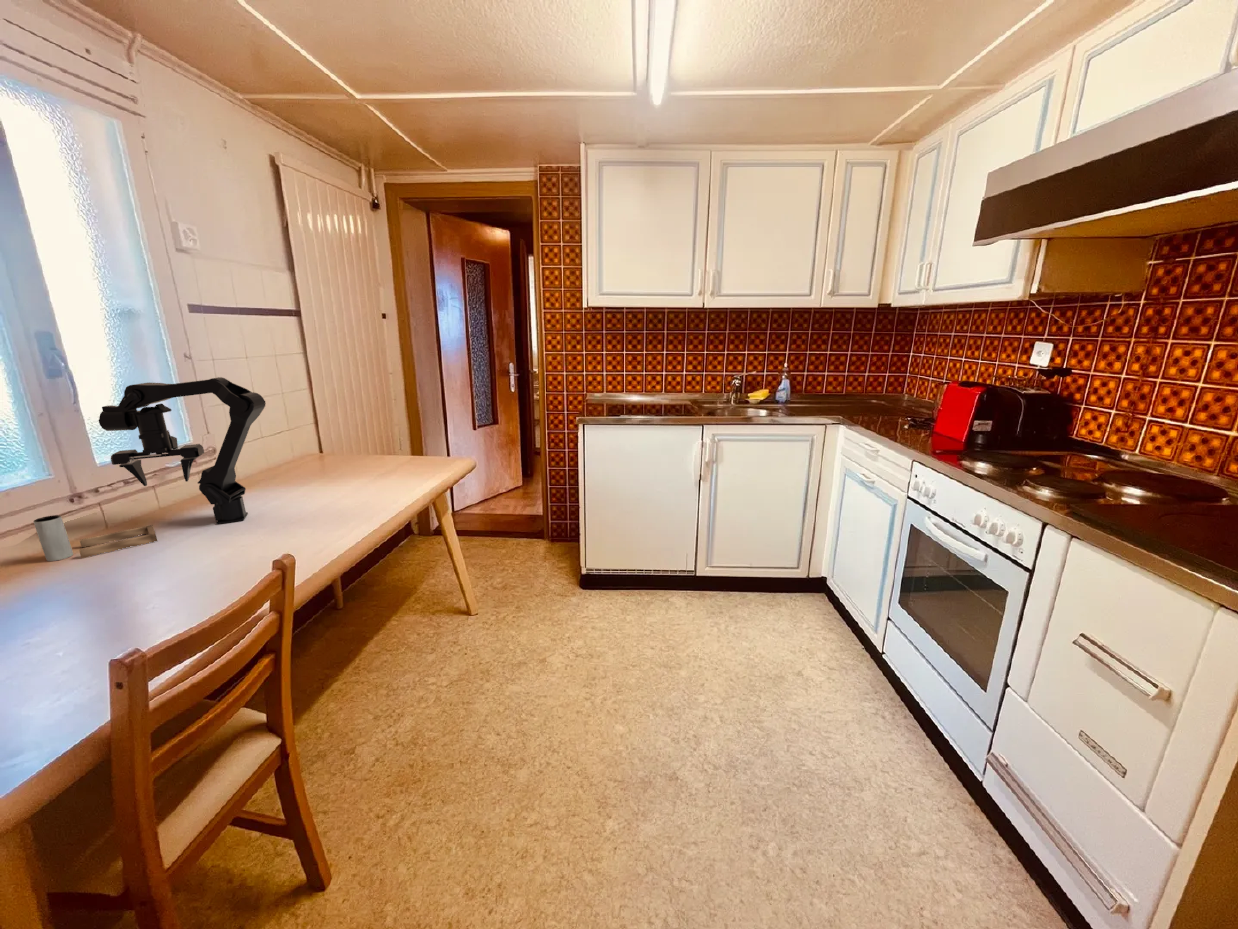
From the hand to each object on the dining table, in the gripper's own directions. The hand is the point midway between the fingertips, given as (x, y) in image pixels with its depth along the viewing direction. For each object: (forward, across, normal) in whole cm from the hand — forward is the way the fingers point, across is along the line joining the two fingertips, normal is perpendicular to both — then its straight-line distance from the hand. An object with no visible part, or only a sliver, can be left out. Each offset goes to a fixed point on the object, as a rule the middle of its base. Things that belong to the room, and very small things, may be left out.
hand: (166, 483), depth 142 cm
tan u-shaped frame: (+12, +8, +12) cm, 19 cm away
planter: (+12, +19, +16) cm, 27 cm away
